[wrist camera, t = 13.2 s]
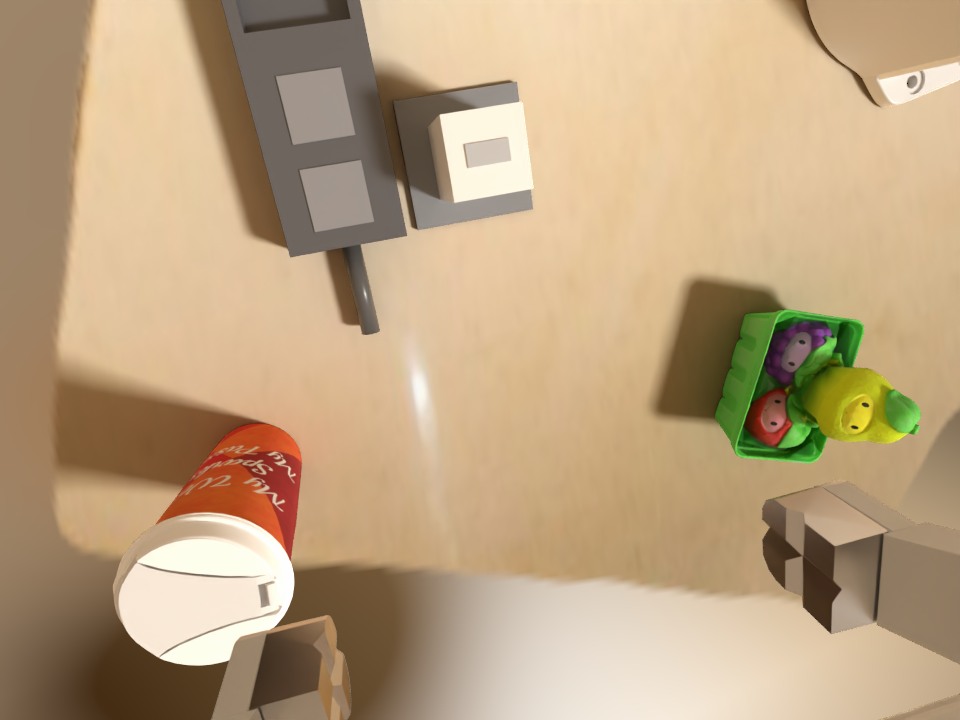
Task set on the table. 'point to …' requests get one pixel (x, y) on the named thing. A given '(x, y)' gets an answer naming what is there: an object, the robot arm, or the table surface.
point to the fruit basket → (806, 389)
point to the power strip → (320, 128)
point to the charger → (481, 152)
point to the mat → (419, 158)
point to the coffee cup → (216, 552)
